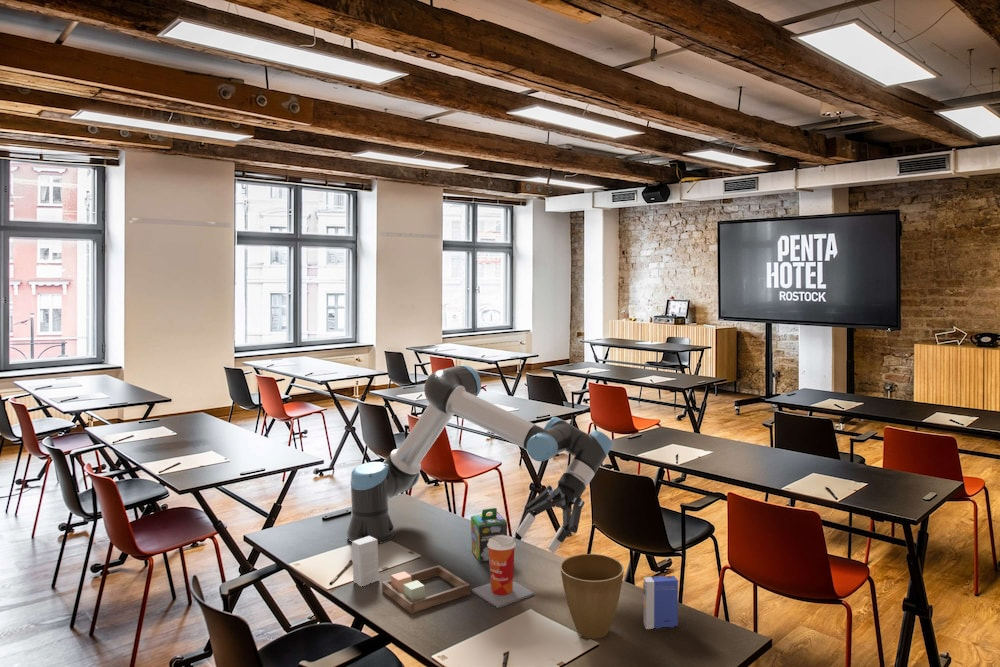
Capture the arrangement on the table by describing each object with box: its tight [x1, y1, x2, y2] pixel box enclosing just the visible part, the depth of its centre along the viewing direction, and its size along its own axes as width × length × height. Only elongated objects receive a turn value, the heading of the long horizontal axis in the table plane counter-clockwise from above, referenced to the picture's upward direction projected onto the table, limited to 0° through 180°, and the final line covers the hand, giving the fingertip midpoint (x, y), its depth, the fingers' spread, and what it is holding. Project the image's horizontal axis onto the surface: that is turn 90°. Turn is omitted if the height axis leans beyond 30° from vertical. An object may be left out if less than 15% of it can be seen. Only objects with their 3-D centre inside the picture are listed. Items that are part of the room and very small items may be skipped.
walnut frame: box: [381, 564, 471, 615], centre depth 186 cm, size 16×18×2 cm
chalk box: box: [470, 507, 508, 563], centre depth 210 cm, size 9×9×15 cm
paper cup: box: [487, 535, 517, 595], centre depth 185 cm, size 8×8×14 cm
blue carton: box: [642, 574, 679, 630], centre depth 167 cm, size 8×3×12 cm, turn 96°
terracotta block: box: [390, 570, 412, 595], centre depth 186 cm, size 4×4×5 cm
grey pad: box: [470, 580, 535, 609], centre depth 185 cm, size 12×12×1 cm
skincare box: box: [351, 536, 380, 588], centre depth 193 cm, size 6×4×12 cm
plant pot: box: [559, 553, 625, 640], centre depth 164 cm, size 15×15×16 cm
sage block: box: [404, 580, 426, 602], centre depth 180 cm, size 4×4×5 cm
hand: (534, 542), depth 190 cm, fingers open, 13 cm apart
